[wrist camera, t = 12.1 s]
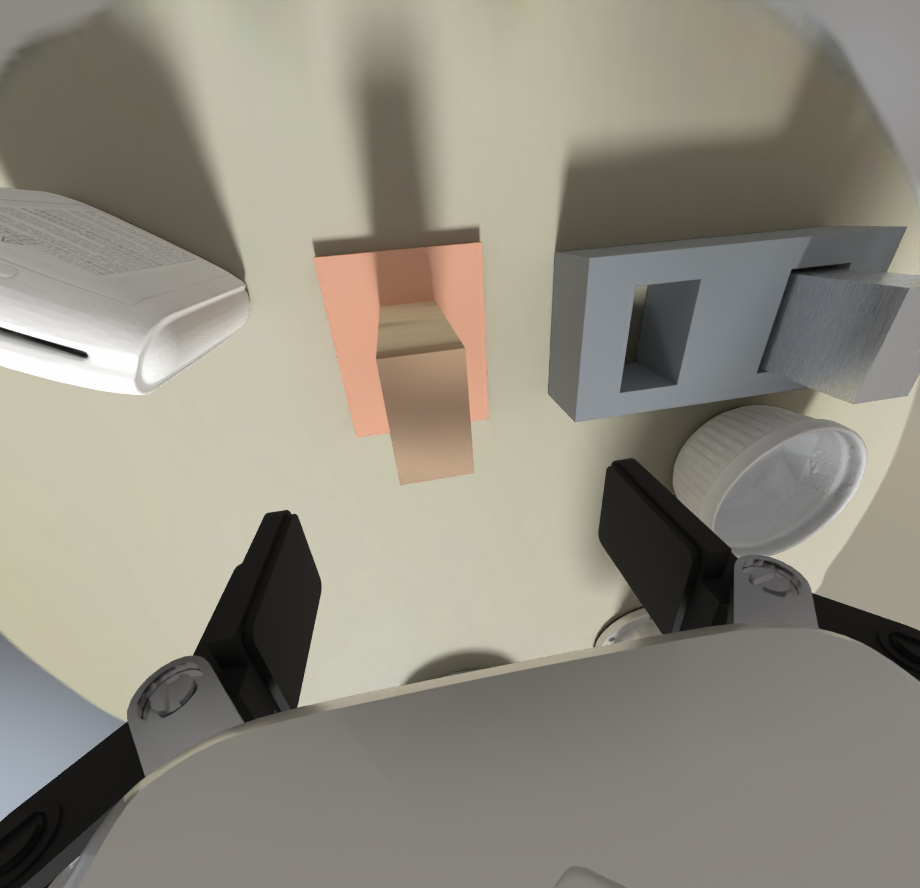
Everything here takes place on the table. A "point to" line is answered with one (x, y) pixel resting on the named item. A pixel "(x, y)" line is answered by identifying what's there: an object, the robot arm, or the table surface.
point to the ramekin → (768, 476)
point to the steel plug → (847, 333)
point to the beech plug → (424, 392)
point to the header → (685, 315)
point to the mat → (392, 283)
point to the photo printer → (104, 297)
